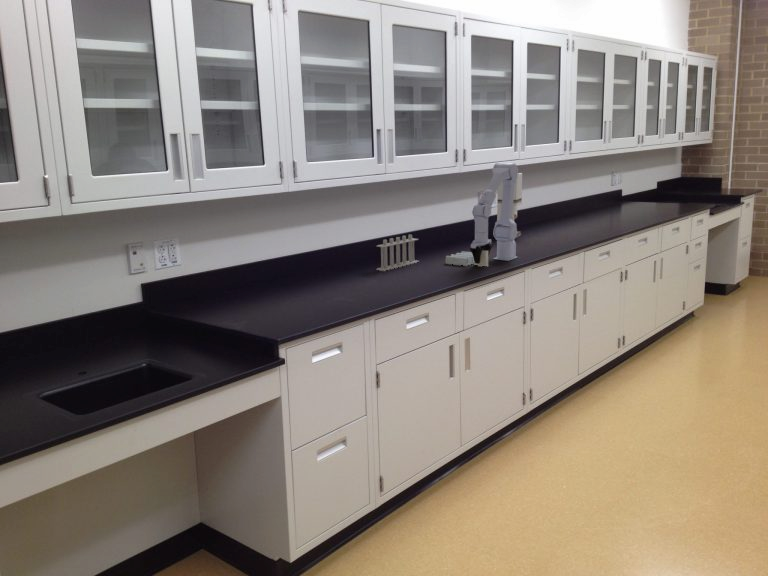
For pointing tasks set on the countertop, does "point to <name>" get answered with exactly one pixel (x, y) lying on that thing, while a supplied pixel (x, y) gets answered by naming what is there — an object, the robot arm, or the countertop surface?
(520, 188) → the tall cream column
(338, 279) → the countertop surface
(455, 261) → the drying rack
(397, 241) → the test tube rack
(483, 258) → the cream tile
